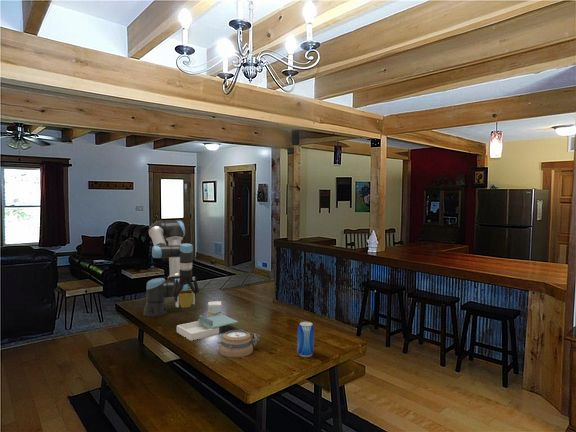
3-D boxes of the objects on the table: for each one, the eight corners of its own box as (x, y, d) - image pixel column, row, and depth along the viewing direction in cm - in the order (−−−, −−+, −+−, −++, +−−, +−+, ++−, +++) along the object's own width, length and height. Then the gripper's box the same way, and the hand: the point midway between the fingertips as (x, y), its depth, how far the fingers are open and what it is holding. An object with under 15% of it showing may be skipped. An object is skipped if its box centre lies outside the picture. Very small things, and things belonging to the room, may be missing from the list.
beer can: (296, 351, 201) (297, 321, 200) (312, 351, 201) (313, 321, 201) (298, 358, 192) (298, 326, 192) (314, 357, 193) (315, 326, 192)
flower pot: (176, 305, 238) (177, 290, 237) (191, 303, 241) (191, 289, 241) (178, 309, 230) (179, 294, 229) (193, 307, 233) (193, 293, 233)
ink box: (221, 322, 244) (221, 304, 244) (207, 323, 242) (207, 304, 242) (220, 318, 253) (221, 300, 252) (207, 319, 251) (207, 301, 250)
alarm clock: (213, 333, 198) (246, 323, 216) (212, 351, 199) (245, 339, 216) (234, 342, 187) (268, 330, 204) (234, 360, 187) (267, 347, 205)
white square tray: (176, 332, 225) (176, 325, 225) (203, 326, 236) (203, 319, 236) (191, 341, 211) (191, 333, 211) (219, 334, 223) (219, 327, 223)
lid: (197, 320, 233) (197, 314, 233) (222, 315, 245) (222, 309, 245) (212, 328, 220) (212, 322, 220) (238, 322, 232) (238, 316, 232)
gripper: (171, 272, 224) (170, 309, 225) (205, 268, 239) (204, 303, 240) (165, 270, 230) (165, 306, 231) (199, 266, 245) (198, 300, 246)
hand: (185, 305), depth 236 cm, fingers closed on flower pot, 10 cm apart
